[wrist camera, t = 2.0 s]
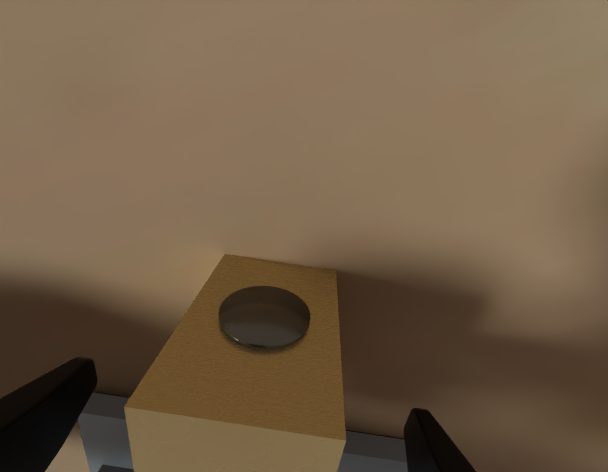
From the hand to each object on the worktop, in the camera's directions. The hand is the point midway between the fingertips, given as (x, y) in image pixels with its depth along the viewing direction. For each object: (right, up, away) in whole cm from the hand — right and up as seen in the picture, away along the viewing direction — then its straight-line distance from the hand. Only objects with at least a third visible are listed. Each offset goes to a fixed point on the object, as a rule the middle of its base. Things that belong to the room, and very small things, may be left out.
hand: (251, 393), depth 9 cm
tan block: (0, +1, +3) cm, 4 cm away
